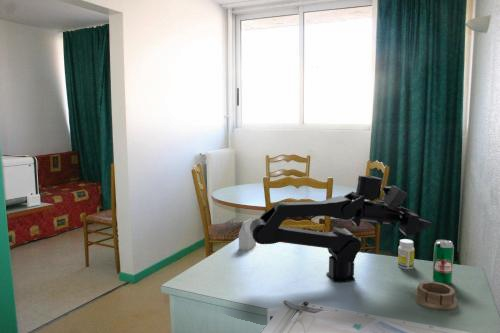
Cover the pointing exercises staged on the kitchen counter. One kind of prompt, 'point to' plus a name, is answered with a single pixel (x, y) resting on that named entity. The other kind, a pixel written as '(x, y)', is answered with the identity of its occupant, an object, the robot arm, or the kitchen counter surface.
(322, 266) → the kitchen counter surface
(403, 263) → the supplement bottle
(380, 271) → the kitchen counter surface
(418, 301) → the holder
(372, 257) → the kitchen counter surface
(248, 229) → the grey pointed block
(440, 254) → the soda can
